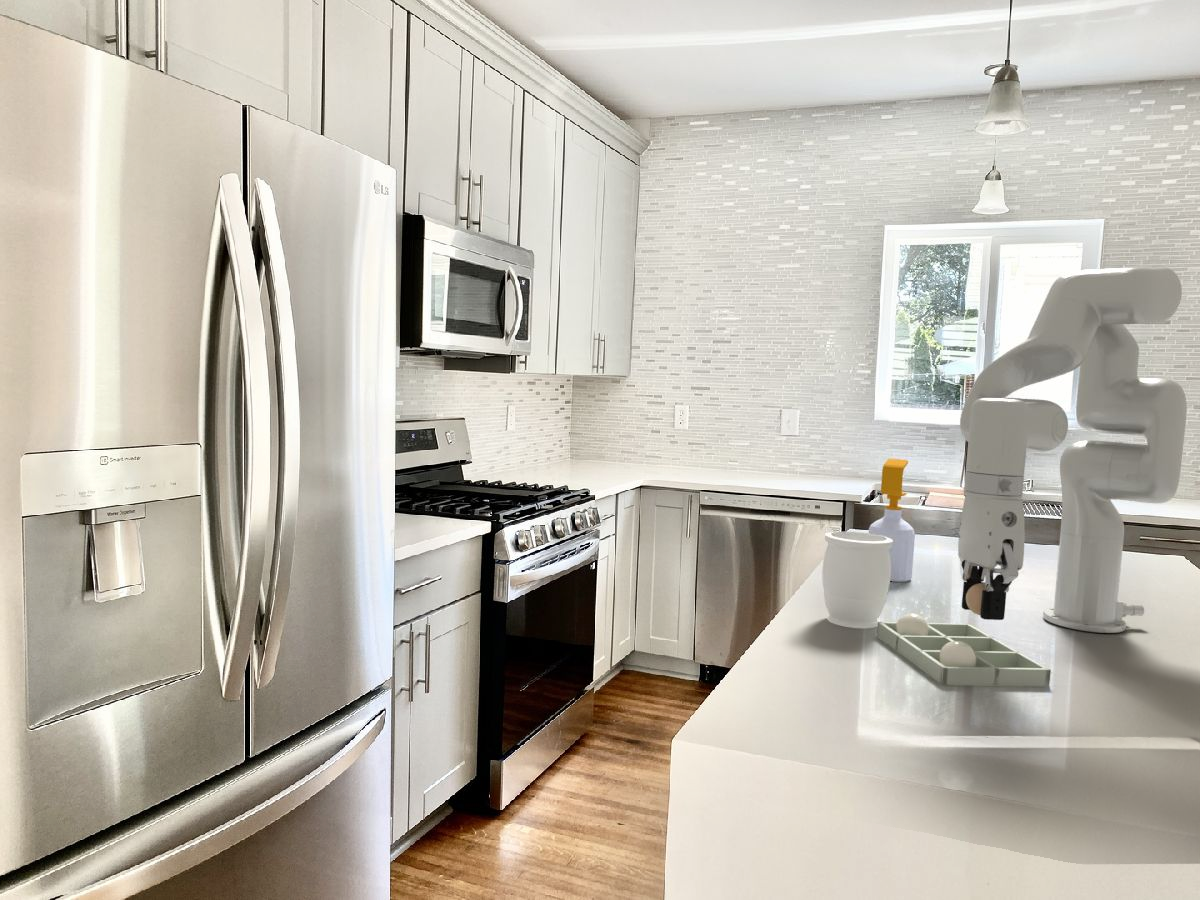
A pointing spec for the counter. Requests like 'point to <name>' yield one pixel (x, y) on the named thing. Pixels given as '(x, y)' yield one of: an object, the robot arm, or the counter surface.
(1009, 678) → the egg tray
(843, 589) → the jar
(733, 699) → the counter surface
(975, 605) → the brown egg
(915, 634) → the cream egg
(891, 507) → the soap bottle
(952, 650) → the cream egg
